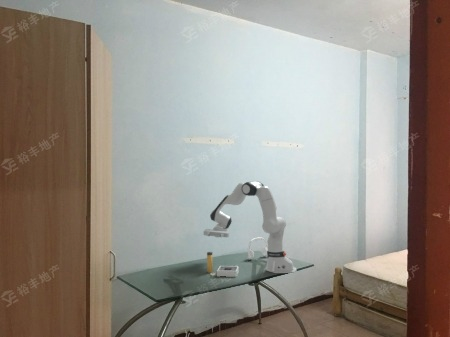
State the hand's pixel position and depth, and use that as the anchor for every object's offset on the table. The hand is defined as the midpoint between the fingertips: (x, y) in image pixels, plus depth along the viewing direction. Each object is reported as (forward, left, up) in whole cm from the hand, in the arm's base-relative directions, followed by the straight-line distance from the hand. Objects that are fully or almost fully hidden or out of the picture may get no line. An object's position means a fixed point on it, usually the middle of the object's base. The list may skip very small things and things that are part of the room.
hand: (214, 235), depth 261 cm
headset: (-31, -34, -25) cm, 53 cm away
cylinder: (+2, +11, -25) cm, 27 cm away
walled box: (-12, +14, -25) cm, 31 cm away
